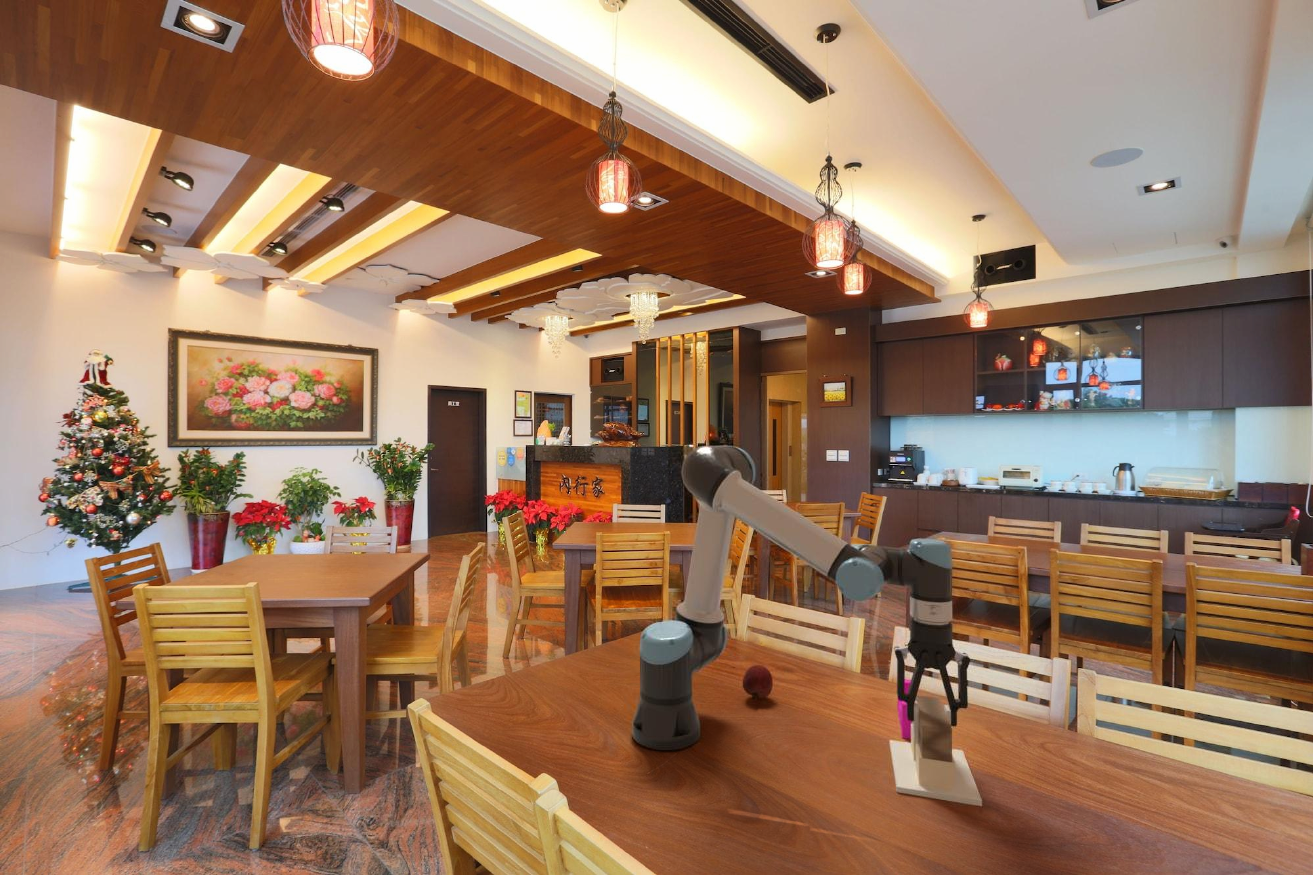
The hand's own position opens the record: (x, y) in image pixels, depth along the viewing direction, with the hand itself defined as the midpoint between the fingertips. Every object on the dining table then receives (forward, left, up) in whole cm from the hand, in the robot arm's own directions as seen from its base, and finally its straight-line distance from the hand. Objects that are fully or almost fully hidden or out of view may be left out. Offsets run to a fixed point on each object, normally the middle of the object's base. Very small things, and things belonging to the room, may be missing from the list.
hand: (931, 739), depth 115 cm
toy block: (-1, +21, -7) cm, 22 cm away
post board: (0, 0, -6) cm, 6 cm away
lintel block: (0, 0, 0) cm, 0 cm away
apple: (-37, +24, -7) cm, 45 cm away
